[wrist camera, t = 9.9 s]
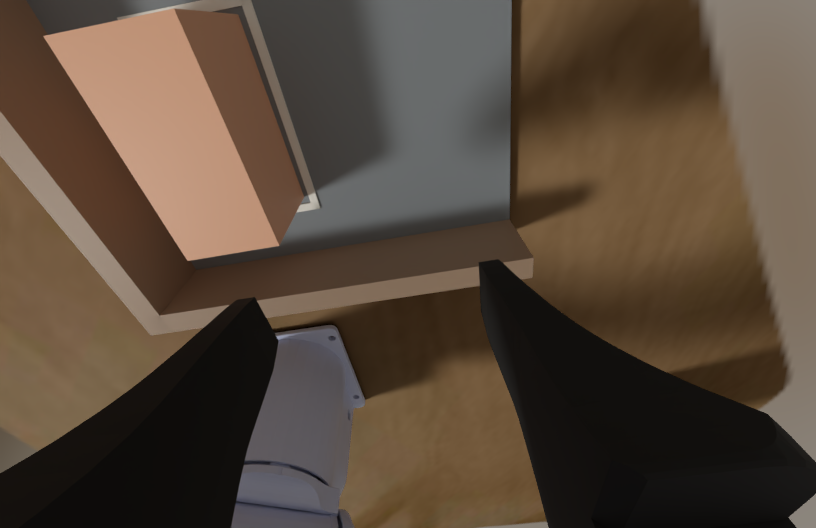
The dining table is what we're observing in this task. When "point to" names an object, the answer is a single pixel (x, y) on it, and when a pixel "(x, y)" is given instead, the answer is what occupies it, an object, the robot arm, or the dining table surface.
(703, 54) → the dining table surface
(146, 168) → the terracotta block
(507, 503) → the dining table surface
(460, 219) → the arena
